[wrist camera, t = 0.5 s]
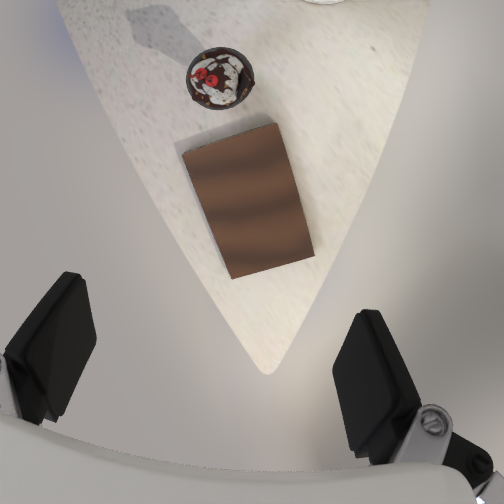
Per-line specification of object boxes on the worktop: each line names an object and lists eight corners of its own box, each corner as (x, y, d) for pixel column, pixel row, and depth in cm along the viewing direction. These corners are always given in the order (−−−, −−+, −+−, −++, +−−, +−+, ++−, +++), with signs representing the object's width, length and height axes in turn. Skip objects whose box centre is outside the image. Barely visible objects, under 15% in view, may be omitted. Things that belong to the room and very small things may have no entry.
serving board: (183, 153, 40) (181, 154, 39) (276, 122, 38) (277, 123, 37) (232, 274, 49) (231, 279, 48) (313, 251, 47) (314, 256, 46)
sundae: (190, 79, 35) (159, 69, 22) (233, 50, 34) (225, 24, 20) (219, 117, 38) (202, 127, 25) (262, 89, 36) (269, 83, 23)
